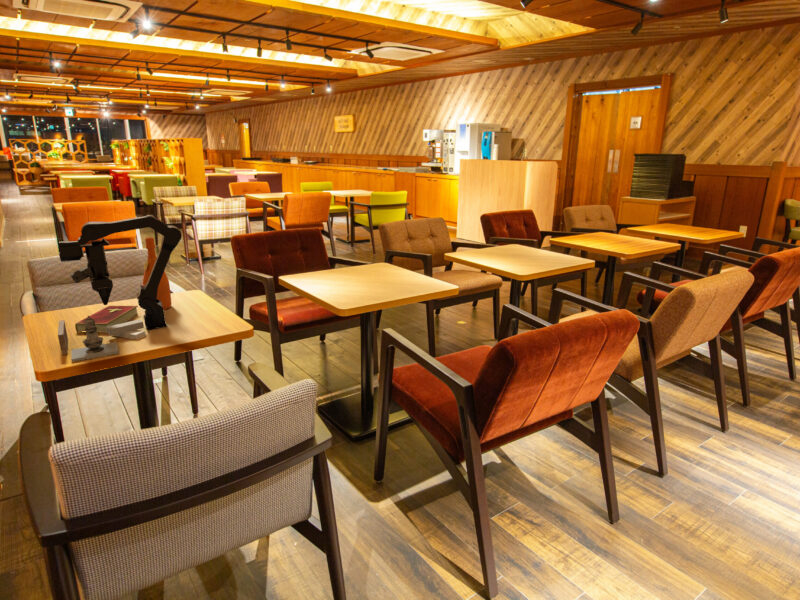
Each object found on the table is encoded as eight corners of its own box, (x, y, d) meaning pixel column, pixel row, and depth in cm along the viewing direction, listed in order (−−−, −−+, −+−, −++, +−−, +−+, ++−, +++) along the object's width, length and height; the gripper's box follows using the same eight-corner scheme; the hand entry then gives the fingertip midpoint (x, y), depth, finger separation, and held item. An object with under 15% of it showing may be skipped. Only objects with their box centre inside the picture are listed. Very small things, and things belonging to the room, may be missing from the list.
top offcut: (107, 333, 175) (106, 327, 174) (140, 325, 183) (139, 319, 182) (111, 335, 173) (110, 329, 172) (143, 327, 181) (143, 321, 180)
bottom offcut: (121, 332, 182) (119, 326, 181) (145, 337, 178) (144, 331, 177) (111, 336, 179) (110, 330, 178) (136, 341, 175) (135, 334, 174)
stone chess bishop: (95, 354, 159) (88, 319, 156) (80, 352, 161) (73, 317, 157) (109, 347, 165) (103, 313, 161) (94, 346, 166) (87, 312, 162)
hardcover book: (76, 333, 181) (74, 322, 180) (109, 314, 201) (108, 304, 200) (108, 333, 181) (106, 322, 180) (139, 314, 201) (137, 305, 200)
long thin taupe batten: (68, 338, 175) (64, 320, 173) (67, 354, 162) (63, 334, 160) (62, 339, 174) (58, 320, 172) (62, 355, 161) (57, 335, 159)
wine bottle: (151, 304, 212) (141, 235, 203) (175, 304, 213) (166, 235, 204) (142, 312, 203) (131, 239, 194) (167, 311, 204) (157, 239, 195)
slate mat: (116, 344, 170) (116, 341, 170) (118, 353, 163) (118, 350, 162) (72, 352, 163) (71, 349, 163) (71, 362, 156) (71, 359, 156)
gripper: (68, 256, 175) (76, 298, 180) (69, 267, 160) (79, 312, 165) (104, 253, 181) (111, 293, 186) (109, 262, 166) (116, 306, 171)
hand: (104, 301), depth 177 cm, fingers open, 9 cm apart
